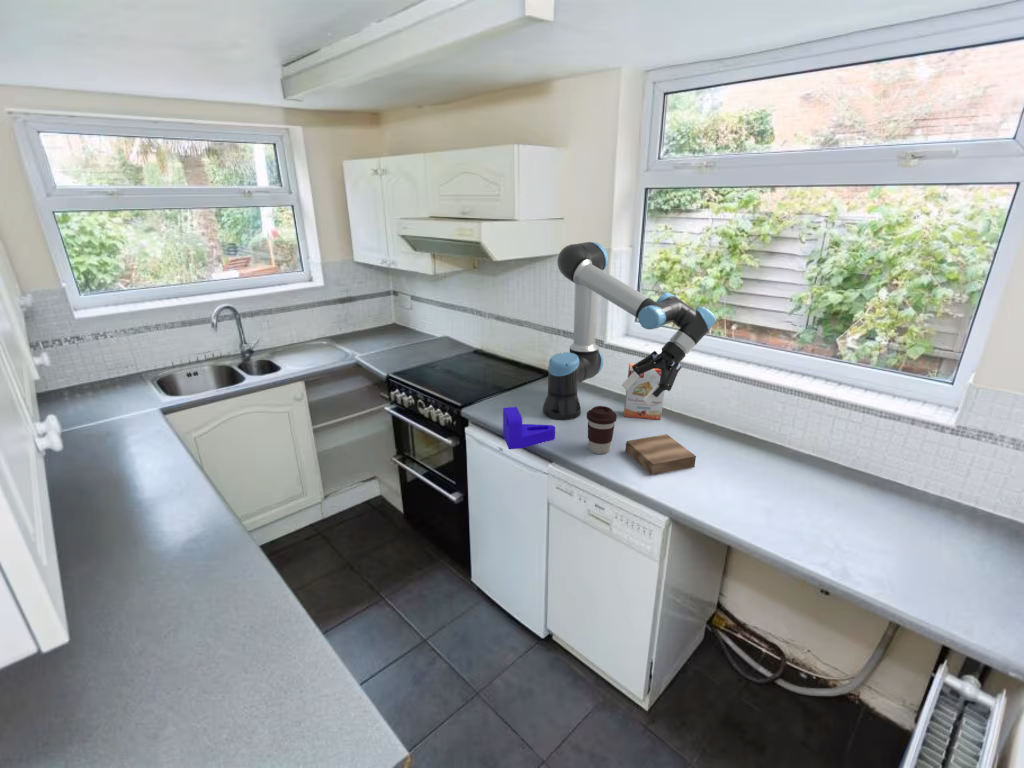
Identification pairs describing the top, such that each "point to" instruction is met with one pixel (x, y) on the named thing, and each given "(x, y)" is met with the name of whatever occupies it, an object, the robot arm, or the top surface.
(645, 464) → the cup stand
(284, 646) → the top surface
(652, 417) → the cracker box
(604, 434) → the coffee cup
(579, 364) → the robot arm
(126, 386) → the top surface
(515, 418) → the bracket
